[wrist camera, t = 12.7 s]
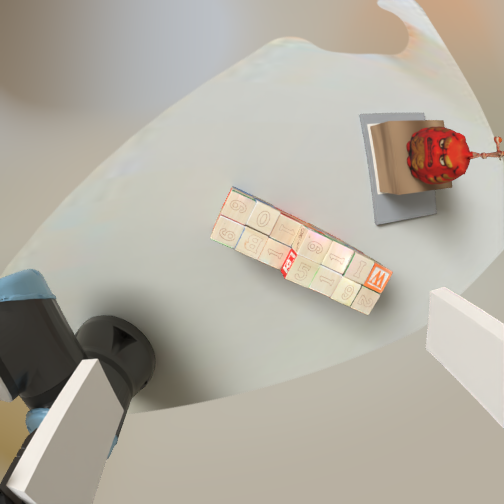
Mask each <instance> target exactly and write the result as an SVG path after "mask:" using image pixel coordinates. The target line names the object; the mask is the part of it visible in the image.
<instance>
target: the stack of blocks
mask: <svg viewBox="0 0 504 504" xmlns="http://www.w3.org/2000/svg"><path fill="white" fill-rule="evenodd" d="M210 239H212V240H214V241H216V242H218V243H221V244H223V245H225V246H227V247H230V248H233V249H234V250H236V251H238V252H240V253H242V254H245V255H247V256H249V257H252V258H254V259H256V260H258V261H260V262H262V263H265V264H267V265H269V266H272V267H274V268H277V269H281V273H282V274H283V276H284V278H285V279H287V280H289V281H292V282H294V283H296V284H299V285H301V286H303V287H306V288H310V289H312V290H314V291H317V292H319V293H321V294H324V295H326V296H328V297H329V298H331V299H333V300H335V301H337V302H340V303H342V304H344V305H347V306H350V307H351V308H353V309H355V310H357V311H359V312H362V313H364V314H366V315H369V314H370V312H371V310H372V309H373V307H374V305H375V304H376V302H377V300H378V299H379V297H380V293H382V291H383V290H384V288H385V286H386V284H387V283H388V281H389V279H390V277H391V275H392V273H393V271H391V270H389V269H388V268H386V267H384V266H383V265H381V264H380V263H378V262H377V261H375V260H374V259H372V258H370V257H368V256H366V255H365V254H363V252H361V251H359V250H357V249H355V248H354V247H352V246H350V245H348V244H347V243H345V242H343V241H342V240H340V239H338V238H336V237H334V236H333V235H331V234H329V233H327V232H325V231H323V230H321V229H320V228H318V227H316V226H314V225H312V224H310V223H306V222H304V221H302V220H300V219H298V218H296V217H294V216H292V215H290V214H288V213H286V212H284V211H282V210H280V209H278V208H275V207H274V206H273V205H271V204H270V203H268V202H266V201H264V200H261V199H259V198H257V197H255V196H253V195H250V194H248V193H246V192H244V191H242V190H240V189H238V188H236V187H233V186H232V188H231V190H230V192H229V194H228V196H227V198H226V200H225V202H224V204H223V206H222V209H221V211H220V213H219V215H218V217H217V220H216V222H215V225H214V228H213V231H212V234H211V237H210Z"/></svg>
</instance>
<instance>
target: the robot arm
mask: <svg viewBox="0 0 504 504" xmlns="http://www.w3.org/2000/svg"><path fill="white" fill-rule="evenodd" d="M426 349H427V350H428V351H429V352H430V353H431V354H432V355H433V356H434V357H435V358H436V359H437V360H438V361H439V362H440V363H441V364H442V365H443V366H444V367H445V368H446V369H447V370H448V371H449V372H450V373H451V374H452V375H453V376H454V377H455V378H456V379H457V380H458V381H459V382H460V383H461V384H462V385H463V386H464V387H465V388H466V389H467V390H468V391H469V392H470V393H471V394H472V396H473V397H474V398H475V399H476V400H477V401H478V402H479V403H480V404H481V405H482V406H483V407H484V408H485V409H486V410H487V411H488V412H489V413H490V414H491V416H492V417H493V418H494V419H495V420H496V421H497V422H498V423H499V424H500V425H501V426H502V427H503V428H504V324H503V323H502V322H500V321H499V320H497V319H495V318H494V317H493V316H491V315H489V314H488V313H486V312H485V311H483V310H482V309H480V308H478V307H477V306H475V305H473V304H472V303H470V302H469V301H467V300H465V299H464V298H462V297H461V296H459V295H457V294H456V293H454V292H452V291H451V290H449V289H447V288H446V287H442V288H439V289H436V290H433V291H430V303H429V318H428V330H427V340H426ZM154 367H155V356H154V352H153V349H152V347H151V345H150V343H149V341H148V340H147V338H146V337H145V336H144V335H143V334H142V333H141V332H140V331H139V330H138V329H137V328H136V327H135V326H133V325H132V324H130V323H128V322H127V321H125V320H122V319H120V318H117V317H113V316H105V315H103V316H96V317H93V318H90V319H89V320H87V321H86V322H85V323H84V324H83V325H82V326H81V327H80V328H79V329H78V331H77V332H76V334H75V335H74V333H73V331H72V329H71V328H70V326H69V324H68V322H67V320H66V318H65V316H64V315H63V313H62V311H61V309H60V307H59V305H58V303H57V301H56V296H55V295H53V294H52V292H51V290H50V288H49V287H48V285H47V283H46V281H45V279H44V277H43V275H42V274H41V273H40V272H39V271H37V270H34V269H27V270H23V271H20V272H17V273H14V274H11V275H8V276H6V277H3V278H0V400H2V401H7V402H11V401H13V400H14V399H15V398H16V397H17V396H18V395H19V396H20V397H21V398H22V400H23V401H24V402H25V404H26V405H27V407H28V408H29V409H30V411H28V413H27V415H26V425H27V429H28V431H29V433H30V435H28V437H27V438H26V439H25V441H24V443H23V444H22V446H21V449H20V450H19V451H18V453H17V457H15V458H14V460H13V462H12V463H11V465H10V467H9V469H8V471H7V473H6V474H5V476H4V478H3V480H2V482H1V484H0V504H93V500H94V497H95V493H96V490H97V487H98V484H99V481H100V478H101V475H102V472H103V469H104V466H105V463H106V460H107V459H108V458H109V456H110V454H111V452H112V450H113V448H114V446H115V445H116V444H117V441H118V437H119V434H120V431H121V428H122V425H123V422H124V419H125V416H126V413H127V410H128V408H129V405H130V402H131V399H132V398H133V397H134V396H135V395H136V394H137V393H138V392H139V391H140V390H141V389H143V388H144V387H145V386H146V385H147V384H148V382H149V381H150V379H151V376H152V374H153V371H154Z"/></svg>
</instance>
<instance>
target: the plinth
mask: <svg viewBox="0 0 504 504" xmlns="http://www.w3.org/2000/svg"><path fill="white" fill-rule="evenodd" d="M438 126H441V127H444V121H442V120H409V121H387V122H384V123H380V124H377V125H373V126H370V130H371V135H372V141H373V147H374V153H375V159H376V166H377V173H378V181H379V189H380V192H385V193H391V194H397V195H402V194H409V193H416V192H423V191H430V190H437V189H444V188H452V181H450V182H447V183H443V184H427V183H425V182H422V181H421V180H419V179H417V178H415V177H413V176H412V174H411V171H410V168H409V166H408V164H407V157H408V155H409V153H408V151H407V148H406V145H407V143H408V141H410V140H411V136H412V134H413V133H415V132H418V131H419V130H421V129H423V128H429V127H438Z"/></svg>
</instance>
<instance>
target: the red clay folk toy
mask: <svg viewBox="0 0 504 504" xmlns="http://www.w3.org/2000/svg"><path fill="white" fill-rule="evenodd" d="M494 141H495V143H496V146H497V152H494V153H487V154H486V153H481V154H479V153H476V152H470V151H469V147H468V145H467V143H466V139H465V136H464V135H462V134H460V133H456V132H455V131H453V130H451V129H447V128H445V127H441V126H438V127H429V128H423V129H421V130H419V131H418V132H415V133H413V134H412V136H411V140H410V141H408V143H407V145H406V148H407V151H408V153H409V155H408V157H407V164H408V166H409V168H410V171H411V174H412V176H413V177H415V178H417V179H419V180H421V181H422V182H425V183H427V184H443V183H447V182H450V181H452V180H455V179H456V178H458V177H459V176H461V175H463V174H465V172H466V170H467V168H468V165H469V162H470V159H473V158H477V157H482V158H483V159H485V158H487V156H488V157H500V160H501V158H502V157H503V156H504V151H500V150H499V147H500V142H501V141H502V139H501V138H500V137H494Z"/></svg>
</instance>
